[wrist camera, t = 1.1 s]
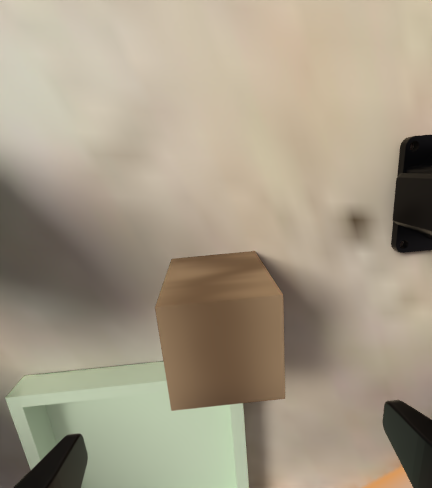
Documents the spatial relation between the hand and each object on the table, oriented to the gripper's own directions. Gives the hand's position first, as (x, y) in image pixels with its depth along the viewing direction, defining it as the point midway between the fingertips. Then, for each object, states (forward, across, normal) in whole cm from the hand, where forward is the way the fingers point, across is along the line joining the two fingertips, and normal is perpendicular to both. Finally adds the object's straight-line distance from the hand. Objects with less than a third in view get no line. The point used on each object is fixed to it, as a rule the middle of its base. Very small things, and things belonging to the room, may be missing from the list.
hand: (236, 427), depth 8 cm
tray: (+9, +6, +12) cm, 16 cm away
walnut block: (+9, 0, 0) cm, 9 cm away
